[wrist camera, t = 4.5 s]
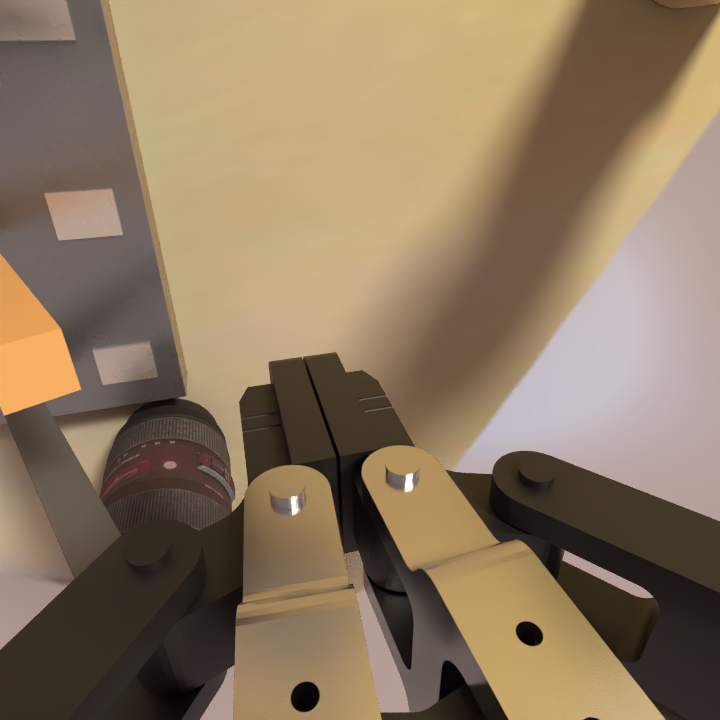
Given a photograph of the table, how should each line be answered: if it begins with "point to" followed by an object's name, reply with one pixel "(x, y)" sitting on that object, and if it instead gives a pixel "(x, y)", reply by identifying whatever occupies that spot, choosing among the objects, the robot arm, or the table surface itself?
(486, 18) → the table surface
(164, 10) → the table surface
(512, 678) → the robot arm
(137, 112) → the table surface
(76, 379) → the lever mid
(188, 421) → the camera lens
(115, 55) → the breaker panel
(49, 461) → the lever high
